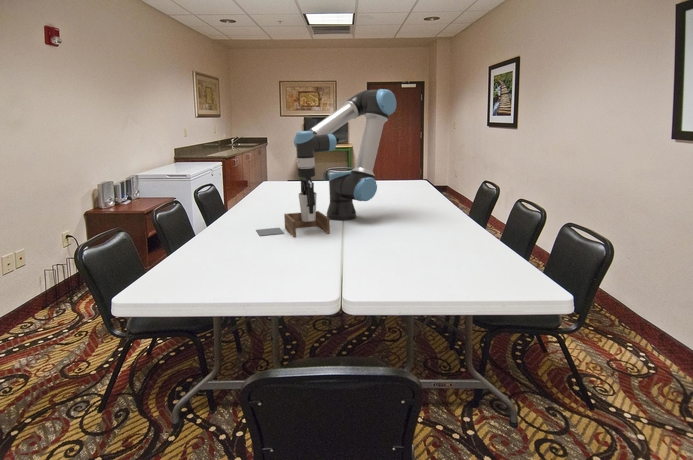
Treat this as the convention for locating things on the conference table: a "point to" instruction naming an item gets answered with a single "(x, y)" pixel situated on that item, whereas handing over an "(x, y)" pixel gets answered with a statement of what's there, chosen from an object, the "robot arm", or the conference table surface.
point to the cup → (304, 208)
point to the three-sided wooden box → (296, 222)
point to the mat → (269, 231)
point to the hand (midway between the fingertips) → (308, 218)
